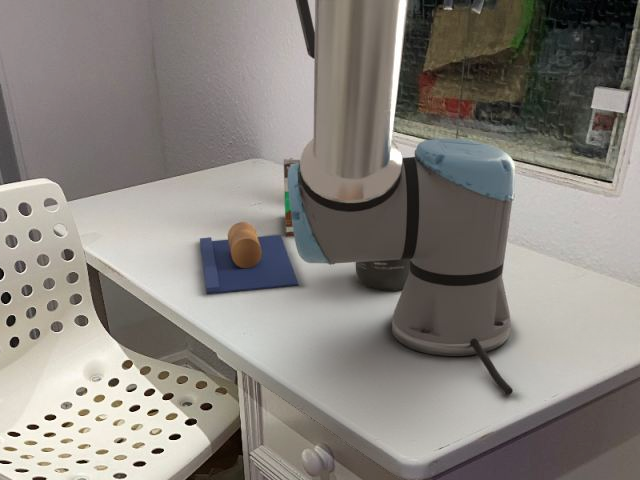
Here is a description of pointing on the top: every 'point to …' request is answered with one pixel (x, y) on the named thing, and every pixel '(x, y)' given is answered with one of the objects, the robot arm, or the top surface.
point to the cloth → (233, 278)
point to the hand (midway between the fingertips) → (335, 111)
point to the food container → (287, 204)
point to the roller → (244, 245)
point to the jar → (383, 274)
